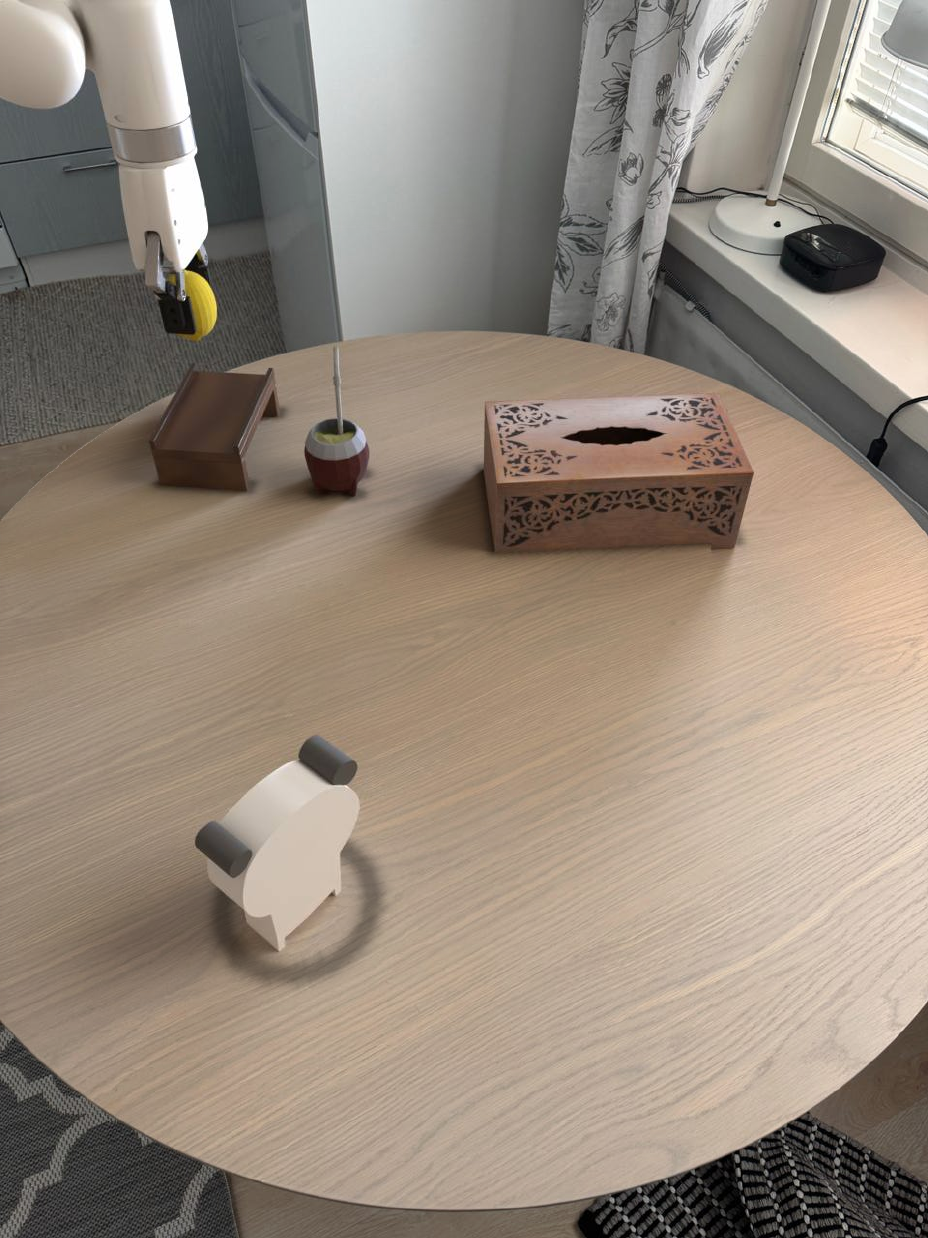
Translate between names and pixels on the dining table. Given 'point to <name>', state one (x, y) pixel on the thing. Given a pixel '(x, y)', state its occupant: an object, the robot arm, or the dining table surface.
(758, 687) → the dining table surface
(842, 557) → the dining table surface
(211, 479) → the shelf
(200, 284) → the lemon
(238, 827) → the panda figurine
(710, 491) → the tissue box cover
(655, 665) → the dining table surface
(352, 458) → the mate gourd
